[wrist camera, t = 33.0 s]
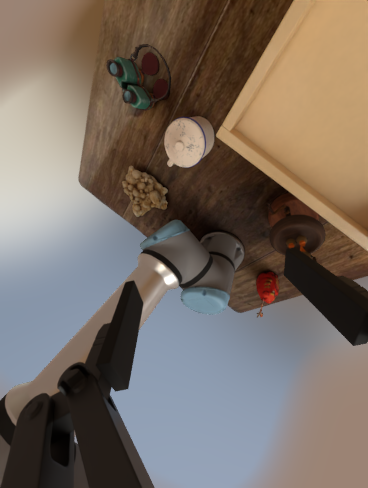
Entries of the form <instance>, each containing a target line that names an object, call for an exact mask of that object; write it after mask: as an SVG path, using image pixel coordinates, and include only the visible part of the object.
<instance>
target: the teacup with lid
mask: <svg viewBox="0 0 368 488" xmlns="http://www.w3.org/2000/svg"><path fill="white" fill-rule="evenodd" d="M164 144H165V149H166V152H167V155H168V157H169V158H170V159H169V160H168V162H167V164H168V166H169V167H171V166H173V165H174V164H176V165H178V166H180V167H184V168H188V167H192V166H194V165H196V164H197V163H199V162H200V160H201V159H202V158H203V157H204V156H206V155H207V154H208V153H209V152H210V150H211V149H212V147H213V144H214V131H213V128H212V126H211V124H210V123H209V121H208V120H206V119H205V118H203V117H200V116H194V117H180V118H177V119H175V120H174V121H173V122H172V123H171V124H170V125H169V126H168V128H167V130H166V133H165V139H164Z"/></svg>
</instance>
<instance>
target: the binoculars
mask: <svg viewBox="0 0 368 488" xmlns="http://www.w3.org/2000/svg"><path fill="white" fill-rule="evenodd" d="M142 47H151V48H153V49H155V48H154V47H152V46H150V45H148V44H143V45H139V46H138V47H136V49H135V52H134V53H133V54H131V56H130V59H125V58H122V57H117V58H115V59H114V60H111V59H110V60H108V61H107V65H106V66H107V70H108V72H109V73H110V75H112V76H114V77H116V79H117V81H118V83H119V85H120V87H121V88H122V91H123V100H124V102H125V103H129V104H131V105H132V106H133V107H135V108H139V109H142V110H149V109H150V108H152V107H153V106H154V104H155V102H157V101H159V100H164V99H166V98H167V97H168V96H169V93H170V85H171V76H170V71H169V68H168V66H167V63H166V61H165V60H164V58H163V57H162V55H161V54H160V53H159V52H158V51H157V50H156V49H155V50H156V51H157V52H158V53H159V55H160V56H161V58H162V59H163V61H164V63H165V65H166V67H167V71H168V76H169V83H167V82H166V81H165V80H164V79H158V80H157V81H156V83H155V84H154V87H153V94H154V95H153V94H152V93H148V91H147V90H146V89H145V88H143V87H142V86H141V85H142V84H143V82H144V74H147V75H155V74H156V73H157V72H158V70H159V61H158V59H157V57H156V56H155V55H154V54H153V53H150V52H148V53H146V54H145V55H144V57H143V59H142V70H140V69H138V68H137V65H136V63H135V62H134V61H135V60H136V59H137V58H138V57H137V56H138V53H139V50H140V49H141V48H142ZM132 56H133V57H134V58H135V59H132ZM156 98H158V99H156Z"/></svg>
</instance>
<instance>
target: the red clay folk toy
mask: <svg viewBox="0 0 368 488" xmlns="http://www.w3.org/2000/svg"><path fill="white" fill-rule="evenodd" d="M256 286H257V291H258V294H259V296H260V298H261V300H263V302H262V304H261V309H260V312H259V313H257V314H258V316H259V315H260V316H261V317H262V316H263V313H261V311H262V307H263V303H264V301H266V303H271V302H272V301H274V300H275V297H276V296H277V295H278V291H279V288H280V287H279V280H278V277H277V275H275V274H274V273H273V272H272V271H269V272H267V273H266V272H263V273H261V274H260V275H259V276H258V278H257V280H256ZM258 316H257V317H258Z"/></svg>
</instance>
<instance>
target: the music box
mask: <svg viewBox="0 0 368 488" xmlns="http://www.w3.org/2000/svg"><path fill="white" fill-rule="evenodd" d="M267 206H268V208H269V216H268V220H269V224H270V226H271V227H272V229H271V232H270V242H271V245H272V246H273V248H274V249H275V250H276V251H277V252H279V253H281V254H283V255H285V256H286V249H288V248H293V247H296V248H297V249H299V250H300V251H302V252H303V253H304V254H306V255H307V256H309V257H310V258H311V259H313V260H314V261H316V258H315V257H313V256H312V255H311V253H313V252H315V251H316V250H318V249H319V248H320V247H321V245H322V244H323V242H324V240H325V230H324V227H323V226H322V224H321V223H320V222H319V221H318V219H319V216H320V215H319V214H318V213H317V212H315V211H314V210H313V209H311V208H310V207H309V206H307V205H306V204H305V203H303V202H302V201H301V200H299V199H298V198H297V197H296V196H294V195H293V194H292V193H290V192H289V193H285V194H283V195H281V196H279V197H278V198H276V199H275V200H274V201H273V203H272V204H271V206H270V205H269V203H267ZM312 257H313V258H312ZM316 262H317V261H316Z"/></svg>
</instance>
